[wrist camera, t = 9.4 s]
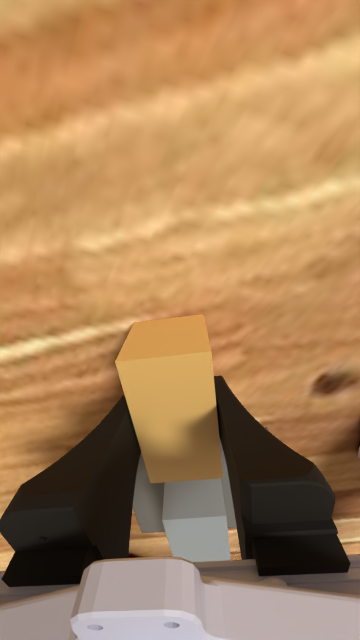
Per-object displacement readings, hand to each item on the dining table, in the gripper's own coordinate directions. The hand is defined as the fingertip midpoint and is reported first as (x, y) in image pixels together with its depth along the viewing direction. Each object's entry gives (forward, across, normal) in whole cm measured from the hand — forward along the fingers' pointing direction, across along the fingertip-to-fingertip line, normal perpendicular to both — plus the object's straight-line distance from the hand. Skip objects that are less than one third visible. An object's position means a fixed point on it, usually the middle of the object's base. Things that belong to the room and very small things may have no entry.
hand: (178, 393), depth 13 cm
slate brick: (+2, 0, +12) cm, 12 cm away
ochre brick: (+1, 0, 0) cm, 1 cm away
